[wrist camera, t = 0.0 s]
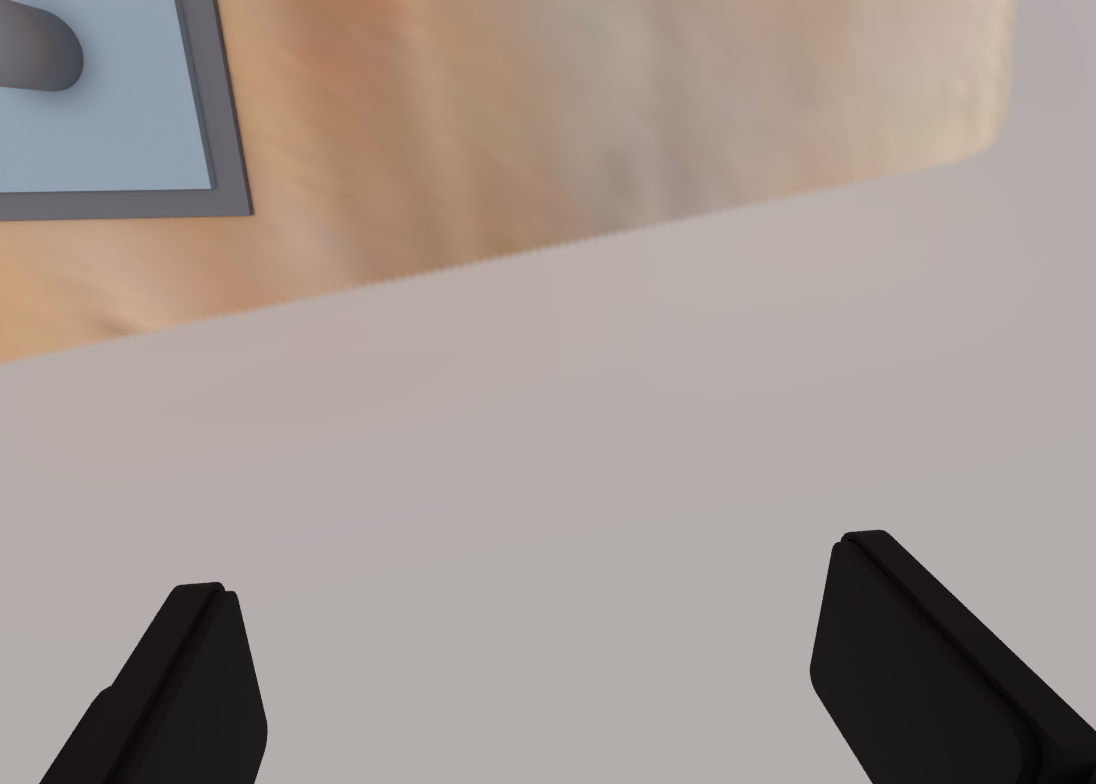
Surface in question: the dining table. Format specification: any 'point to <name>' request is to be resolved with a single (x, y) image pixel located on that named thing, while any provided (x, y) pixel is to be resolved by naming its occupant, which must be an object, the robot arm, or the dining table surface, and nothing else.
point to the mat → (218, 201)
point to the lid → (99, 98)
